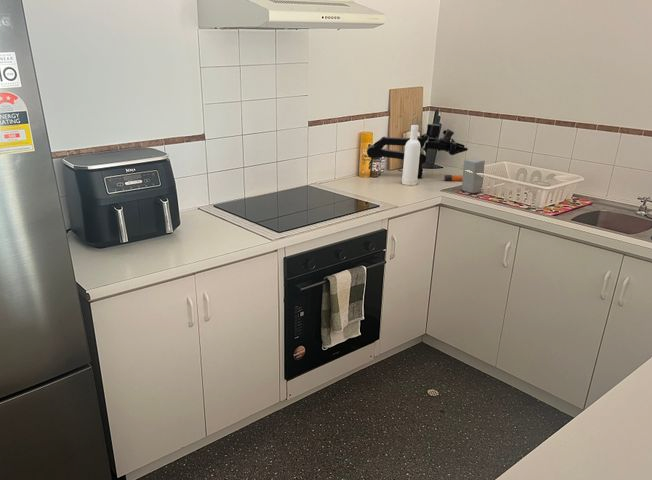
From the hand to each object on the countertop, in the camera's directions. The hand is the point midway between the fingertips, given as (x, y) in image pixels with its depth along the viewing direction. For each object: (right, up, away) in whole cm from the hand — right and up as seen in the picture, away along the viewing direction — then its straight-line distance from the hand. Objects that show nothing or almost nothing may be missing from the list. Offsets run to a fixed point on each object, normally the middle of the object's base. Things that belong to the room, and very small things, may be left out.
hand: (466, 147), depth 296 cm
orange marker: (-3, -17, +2) cm, 18 cm away
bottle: (-32, -20, -4) cm, 38 cm away
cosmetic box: (-4, -26, -18) cm, 32 cm away
